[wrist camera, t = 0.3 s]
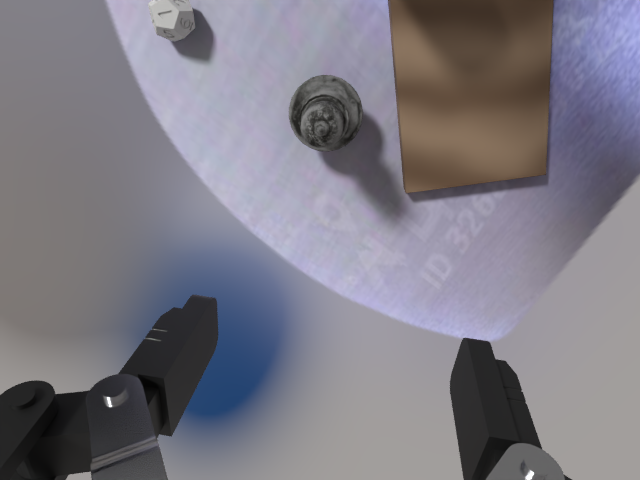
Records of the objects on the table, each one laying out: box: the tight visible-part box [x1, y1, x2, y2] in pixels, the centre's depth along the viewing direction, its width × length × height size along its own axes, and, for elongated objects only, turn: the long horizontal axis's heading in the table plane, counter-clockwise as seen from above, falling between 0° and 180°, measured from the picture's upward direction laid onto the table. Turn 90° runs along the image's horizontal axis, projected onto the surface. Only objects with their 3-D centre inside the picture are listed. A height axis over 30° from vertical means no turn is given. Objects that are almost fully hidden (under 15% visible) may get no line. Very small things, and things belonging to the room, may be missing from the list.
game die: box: [148, 0, 195, 42], centre depth 34 cm, size 4×4×3 cm
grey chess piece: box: [289, 75, 363, 151], centre depth 32 cm, size 6×6×12 cm
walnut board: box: [388, 0, 553, 193], centre depth 36 cm, size 16×12×2 cm
